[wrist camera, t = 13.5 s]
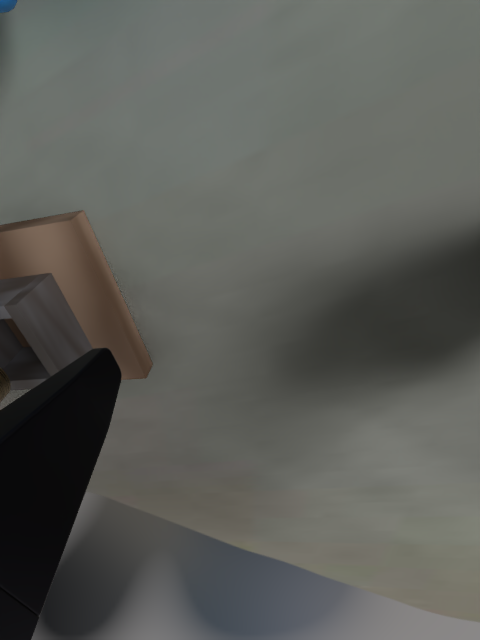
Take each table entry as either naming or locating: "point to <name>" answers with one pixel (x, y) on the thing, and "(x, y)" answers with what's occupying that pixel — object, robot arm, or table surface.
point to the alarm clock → (7, 5)
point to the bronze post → (4, 384)
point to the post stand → (60, 302)
